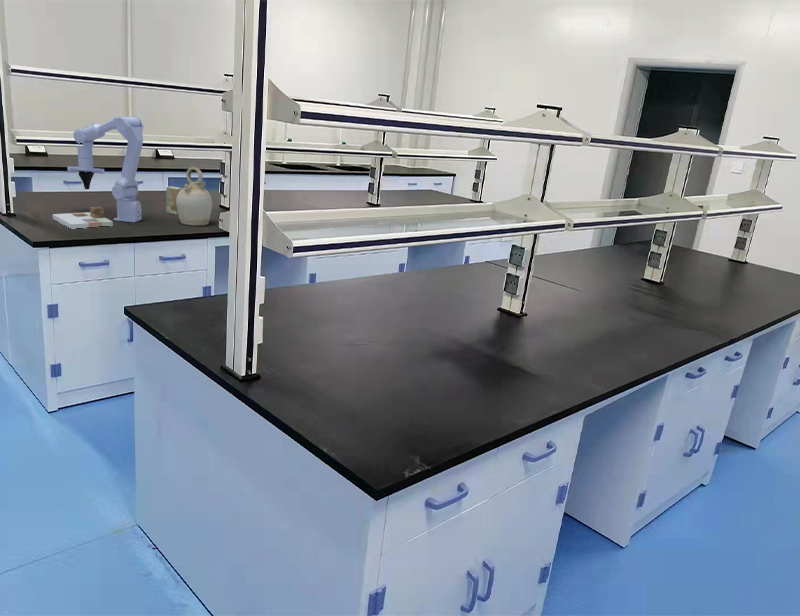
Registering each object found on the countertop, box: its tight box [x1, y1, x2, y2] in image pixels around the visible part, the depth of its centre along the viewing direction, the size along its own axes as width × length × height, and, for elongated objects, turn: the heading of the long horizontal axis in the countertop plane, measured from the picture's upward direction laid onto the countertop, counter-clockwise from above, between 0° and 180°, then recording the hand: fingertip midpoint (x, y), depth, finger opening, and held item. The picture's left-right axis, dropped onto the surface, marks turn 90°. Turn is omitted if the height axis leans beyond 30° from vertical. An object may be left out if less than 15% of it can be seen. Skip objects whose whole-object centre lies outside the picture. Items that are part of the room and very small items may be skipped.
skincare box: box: [165, 185, 184, 215], centre depth 297 cm, size 6×4×12 cm
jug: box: [176, 166, 213, 226], centre depth 280 cm, size 15×16×25 cm
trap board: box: [52, 211, 114, 230], centre depth 263 cm, size 16×20×2 cm
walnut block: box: [89, 206, 105, 218], centre depth 266 cm, size 4×4×4 cm
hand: (87, 188), depth 279 cm, fingers closed
